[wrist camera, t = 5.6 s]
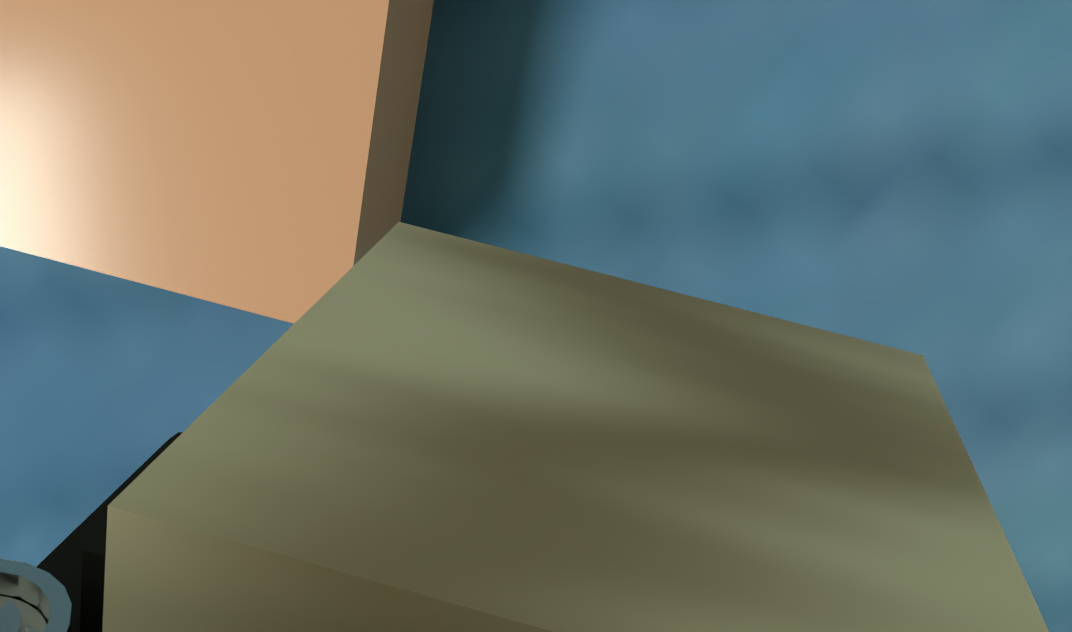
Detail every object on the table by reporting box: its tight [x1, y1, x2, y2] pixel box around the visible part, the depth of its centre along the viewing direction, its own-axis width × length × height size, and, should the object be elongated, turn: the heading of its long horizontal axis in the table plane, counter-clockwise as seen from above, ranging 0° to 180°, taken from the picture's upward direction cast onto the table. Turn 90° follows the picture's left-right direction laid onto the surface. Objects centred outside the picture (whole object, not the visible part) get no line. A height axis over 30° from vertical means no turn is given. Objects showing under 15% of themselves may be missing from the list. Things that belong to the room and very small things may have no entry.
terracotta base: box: [0, 0, 434, 324], centre depth 24 cm, size 12×12×4 cm
